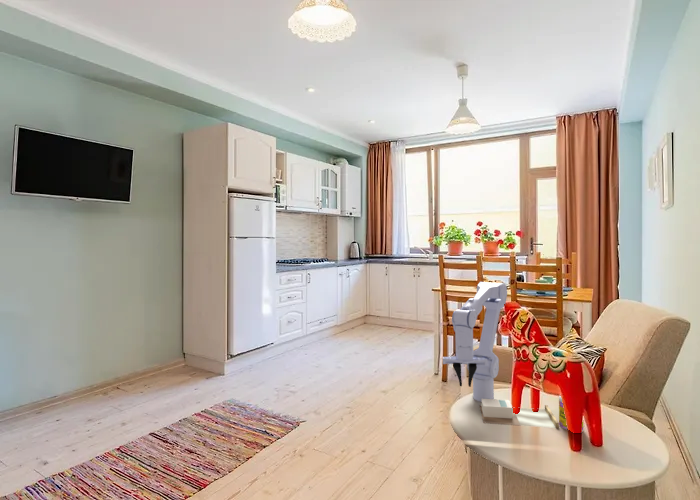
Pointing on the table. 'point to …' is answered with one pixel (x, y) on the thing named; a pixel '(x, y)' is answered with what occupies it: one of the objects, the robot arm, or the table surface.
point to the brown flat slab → (526, 418)
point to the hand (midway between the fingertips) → (465, 385)
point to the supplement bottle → (563, 415)
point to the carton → (497, 408)
